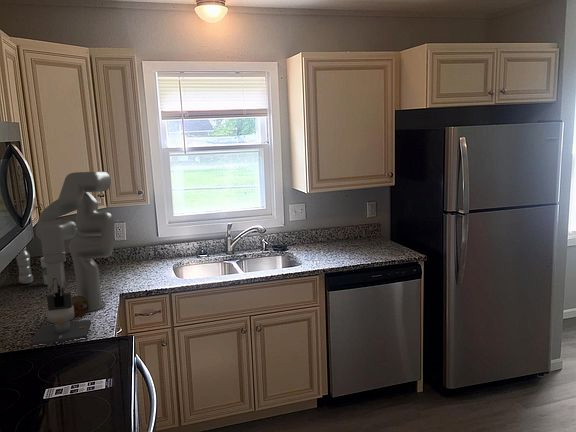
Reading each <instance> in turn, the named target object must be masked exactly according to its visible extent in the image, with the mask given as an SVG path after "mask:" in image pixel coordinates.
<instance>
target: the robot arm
mask: <svg viewBox="0 0 576 432" xmlns="http://www.w3.org/2000/svg"><path fill="white" fill-rule="evenodd" d="M111 185H112V179H111V176H110V175H109V173H108V172H106V171H78V172H77V171H75V172H71V173H69V174H66V177H65V179H64V181H63V184H62V187H61V189H60V191H59V192H60V193H59V195H58V198H57V199H56V200H54V201H53V202H50V204H49V205H47V206H46V207H45V208H44V209H43V210H42V211H41V213H40V214H39V217H38V221H37V223H36V226H35V234H36V237H37V239H39V240H40V241H41V242H40V243H41V249H42V257H43V259H44V263H45V264H47V281H48V285H47V290H49V291H51V290H52V292H53V293H52V294H54V304H55V307H62V306H64V297H63V296H62V293H65V290H64V286H65V283H66V274H65V273H66V272H65V265H64V262H66V261H67V255H66V246H65V241H68V240H69V241H70V240H71V241H70V242H69V252H70V256H71V259H72V262H73V269H74V276H75V277H74V278H75V279H74V280H75V285H76V287H75V288H76V296H82V297H84V298H86V299H87V301H88V303H89V307H88V311H87V312H89V313H90V312H95V311H98V310H101V309H103V308H104V307H106V306H107V305H106V301H104V300H102V296H101V295H102V293H101V283H100V274H99V273H100V272H99V266H98V263H96V261H95V260H94V259H105V258H110V257H111V256H112V254H113V251H114V242H115V240H114V239H115V229H116V228H115V225H116V224H115V219H114V216H113V215H112V214H111V212H108V211H103V212H102V211H100V212H99V202H98V200H97V199H96V197H95V196H93V194H91V193H98V192H105V191H109V189H110V188H111ZM75 211H76V217H75V221H73V220H70V219H66V220H65V219H62V220H59V219H58V218H61V217H62V216H65V215H68V214H70V213H72V212H75ZM56 219H58V220H56ZM77 234H80V235H83V236H78V237H76V236H77ZM84 235H85V236H84ZM86 235H87V236H86ZM87 312H86V313H87Z"/></svg>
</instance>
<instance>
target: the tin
mask: <svg viewBox="0 0 576 432" xmlns="http://www.w3.org/2000/svg"><path fill="white" fill-rule="evenodd" d="M71 297H72V305H73V306H74V314H75V317H74V318H77V317H78V318H79V317H82V316H84V315H86V314H87V311H88V307H89V303H88V301H87V299H86V298H84V297H82V296H77V295H75V296H71Z"/></svg>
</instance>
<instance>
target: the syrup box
mask: <svg viewBox="0 0 576 432" xmlns="http://www.w3.org/2000/svg"><path fill="white" fill-rule="evenodd" d="M40 265H41V273H42V281H43V285H44V286H48V281H47V264H45V263H44V259H43V256H42V257H40Z"/></svg>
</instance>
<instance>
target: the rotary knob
mask: <svg viewBox="0 0 576 432" xmlns="http://www.w3.org/2000/svg"><path fill="white" fill-rule="evenodd" d="M62 296H63V297H64V306H62V307H55V304H54V293H51V294H47V295H46V301H47V310H46V311H47V318H48V323H51V324H55V323H61V322H66V321H69V322H70V321H71V320H74V319H75V318H76V317H75V314H74V306H73V305H72V297H73V296H72V292H71V291H68V292H64V293H62Z"/></svg>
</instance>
